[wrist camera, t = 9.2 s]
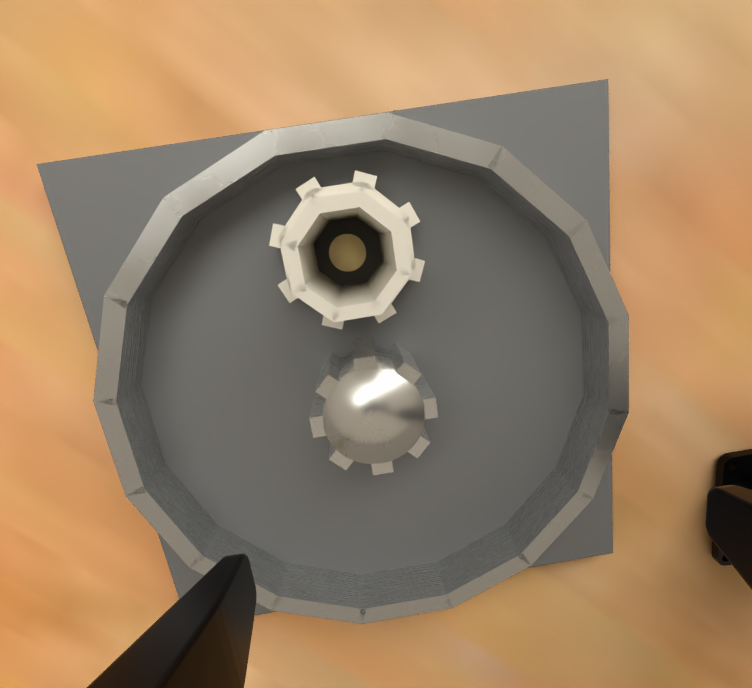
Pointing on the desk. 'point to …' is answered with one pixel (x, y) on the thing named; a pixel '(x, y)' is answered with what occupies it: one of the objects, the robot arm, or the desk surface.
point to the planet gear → (309, 225)
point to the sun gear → (372, 406)
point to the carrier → (316, 342)
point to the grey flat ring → (408, 584)
